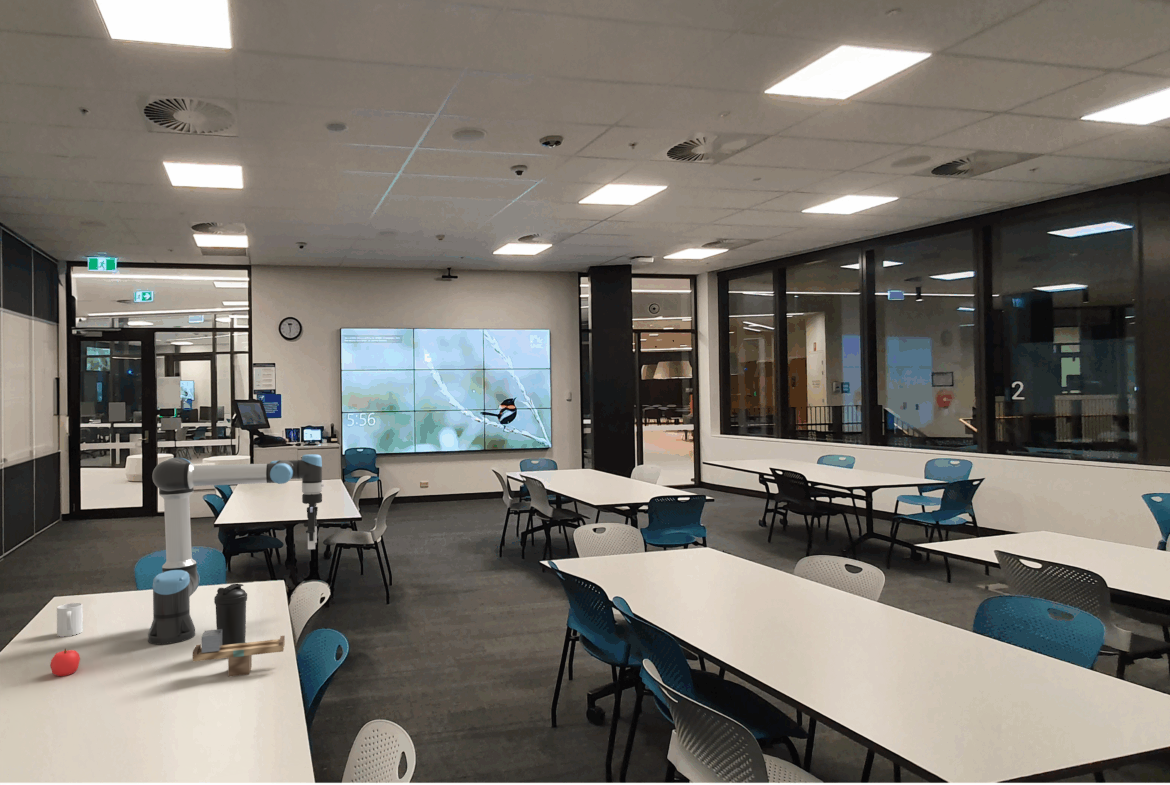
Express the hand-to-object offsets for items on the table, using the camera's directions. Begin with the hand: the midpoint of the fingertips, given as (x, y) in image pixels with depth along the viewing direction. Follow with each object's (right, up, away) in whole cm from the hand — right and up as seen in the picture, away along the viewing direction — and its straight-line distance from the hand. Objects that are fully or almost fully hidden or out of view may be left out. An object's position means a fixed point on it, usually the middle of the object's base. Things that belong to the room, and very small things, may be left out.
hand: (312, 545), depth 298 cm
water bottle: (-12, -28, -44) cm, 53 cm away
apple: (-56, -28, -61) cm, 88 cm away
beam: (0, -27, -62) cm, 67 cm away
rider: (-8, -21, -64) cm, 68 cm away
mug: (-82, -29, -22) cm, 90 cm away
